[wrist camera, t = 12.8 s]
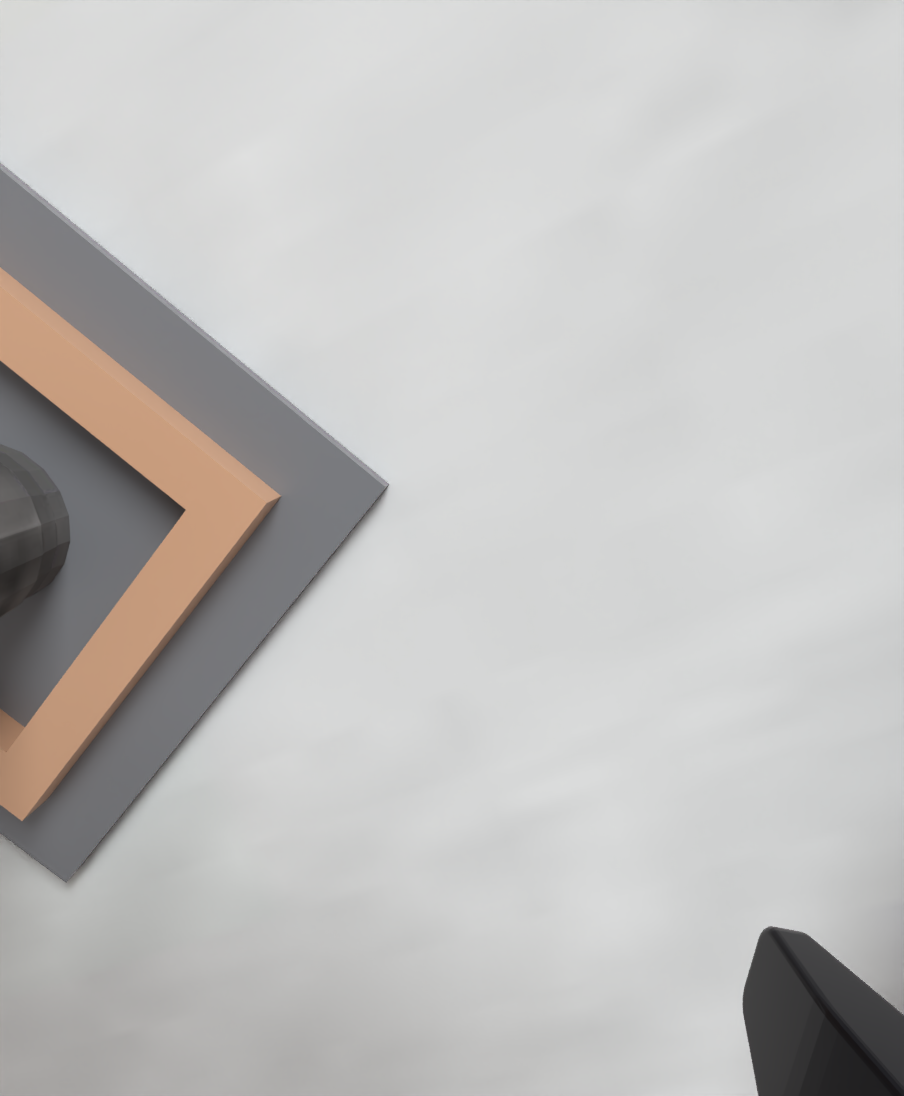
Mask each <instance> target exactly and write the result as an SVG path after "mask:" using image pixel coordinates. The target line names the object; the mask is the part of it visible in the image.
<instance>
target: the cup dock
mask: <svg viewBox="0 0 904 1096" xmlns="http://www.w3.org/2000/svg"><path fill="white" fill-rule="evenodd" d="M0 444H2V445H4V446H7V447H9V448H12V449H14V450H17V451H20V452H22V453H24V454H25V455H26V456H28V457H29V458H30V459H31V460H33V461H34V462H35V463H37V464H38V465H39V466H40V467H42V468H43V469H44V470H45V471H46V473H47V474H48V475H49V477H50V478H51V480H52V481H53V482H54V484H55V485H56V486H57V488H58V489H59V490H60V493H61V496H62V498H63V501H64V504H65V506H66V509H67V512H68V514H69V525H70V544H69V548H68V552H67V555H66V559H65V563H64V565H63V566H62V568H61V569H60V571H59V572H58V574H57V575H56V576H55V578H54V579H53V581H52V582H51V583H50V584H48V585H47V586H46V587H44V588H43V589H41V590H40V591H38V592H37V593H35V594H34V595H32V596H30V597H28V598H26V599H24V600H23V602H22V603H21V604H20V605H18V606H17V607H15V608H14V609H13V610H11V611H10V612H8V613H7V614H5V615H4V616H2V617H1V618H0V833H1V834H2V835H4V836H5V837H6V838H8V839H9V840H10V841H12V842H13V843H14V844H16V845H17V846H18V847H20V848H21V849H22V850H24V851H25V852H26V853H28V854H29V855H30V856H32V857H33V858H34V859H36V860H37V861H38V862H40V863H41V864H42V865H43V866H45V867H46V868H47V869H49V870H50V871H51V872H53V873H54V874H55V875H57V876H58V877H59V878H61V879H62V880H63V881H65V882H67V881H68V880H69V879H70V878H71V876H72V875H73V874H74V873H75V872H76V871H77V870H78V869H79V867H80V866H81V865H82V864H83V862H84V861H85V860H86V859H87V857H88V856H89V855H90V854H91V852H92V851H93V850H94V849H95V848H96V846H97V845H98V844H99V843H100V841H101V840H102V839H103V838H104V836H105V835H106V834H107V833H108V831H109V830H110V829H111V828H112V826H113V825H114V824H115V823H116V822H117V820H118V819H119V818H120V817H121V815H122V814H123V813H124V812H125V810H126V809H127V808H128V807H129V805H130V804H131V803H132V802H133V800H134V799H135V798H136V797H137V796H138V794H139V793H140V792H141V791H142V789H143V788H144V787H145V786H146V784H147V783H148V782H149V781H150V779H151V778H152V777H153V776H154V775H155V773H156V772H157V771H158V770H159V768H160V767H161V766H162V765H163V763H164V762H165V761H166V760H167V758H168V757H169V756H170V755H171V753H172V752H173V751H174V750H175V749H176V747H177V746H178V745H179V744H180V742H181V741H182V740H183V739H184V737H185V736H186V735H187V734H188V732H189V731H190V730H191V729H192V727H193V726H194V725H195V724H196V723H197V721H198V720H199V719H200V718H201V716H202V715H203V714H204V713H205V711H206V710H207V709H208V708H209V706H210V705H211V704H212V703H213V702H214V700H215V699H216V698H217V697H218V695H219V694H220V693H221V692H222V690H223V689H224V688H225V687H226V685H227V684H228V683H229V682H230V680H231V679H232V678H233V677H234V676H235V674H236V673H237V672H238V671H239V669H240V668H241V667H242V666H243V664H244V663H245V662H246V661H247V659H248V658H249V657H250V656H251V654H252V653H253V652H254V651H255V650H256V648H257V647H258V646H259V645H260V643H261V642H262V641H263V640H264V638H265V637H266V636H267V635H268V633H269V632H270V631H271V630H272V628H273V627H274V626H275V625H276V624H277V622H278V621H279V620H280V619H281V617H282V616H283V615H284V614H285V612H286V611H287V610H288V609H289V607H290V606H291V605H292V604H293V603H294V601H295V600H296V599H297V598H298V596H299V595H300V594H301V593H302V591H303V590H304V589H305V588H306V586H307V585H308V584H309V583H310V581H311V580H312V579H313V578H314V577H315V575H316V574H317V573H318V572H319V570H320V569H321V568H322V567H323V565H324V564H325V563H326V562H327V560H328V559H329V558H330V557H331V555H332V554H333V553H334V552H335V551H336V549H337V548H338V547H339V546H340V544H341V543H342V542H343V541H344V539H345V538H346V537H347V536H348V534H349V533H350V532H351V531H352V530H353V528H354V527H355V526H356V525H357V523H358V522H359V521H360V520H361V518H362V517H363V516H364V515H365V513H366V512H367V511H368V510H369V508H370V507H371V506H372V505H373V504H374V502H375V501H376V500H377V499H378V497H379V496H380V495H381V494H382V492H383V491H384V490H385V489H386V487H387V486H388V485H389V484H388V483H387V482H386V481H385V480H384V479H382V478H381V477H380V476H379V475H378V474H376V473H375V472H374V471H373V470H371V469H370V468H369V467H368V466H367V465H365V464H364V463H363V462H362V461H361V460H359V459H358V458H357V457H356V456H355V455H353V454H352V453H351V452H350V451H348V450H347V449H346V448H345V447H344V446H342V445H341V444H340V443H339V442H338V441H336V440H335V439H334V438H333V437H332V436H330V435H329V434H328V433H327V432H325V431H324V430H323V429H322V428H321V427H319V426H318V425H317V424H316V423H315V422H313V421H312V420H311V419H310V418H309V417H307V416H306V415H305V414H304V413H302V412H301V411H300V410H299V409H298V408H296V407H295V406H294V405H293V404H292V403H290V402H289V401H288V400H287V399H286V398H284V397H283V396H282V395H281V394H279V393H278V392H277V391H276V390H275V389H273V388H272V387H271V386H270V385H269V384H267V383H266V382H265V381H264V380H263V379H261V378H260V377H259V376H258V375H257V374H255V373H254V372H253V371H252V370H250V369H249V368H248V367H247V366H246V365H244V364H243V363H242V362H241V361H240V360H238V359H237V358H236V357H235V356H234V355H232V354H231V353H230V352H229V351H227V350H226V349H225V348H224V347H223V346H221V345H220V344H219V343H218V342H217V341H215V340H214V339H213V338H212V337H211V336H209V335H208V334H207V333H206V332H204V331H203V330H202V329H201V328H200V327H198V326H197V325H196V324H195V323H194V322H192V321H191V320H190V319H189V318H188V317H186V316H185V315H184V314H183V313H181V312H180V311H179V310H178V309H177V308H175V307H174V306H173V305H172V304H171V303H169V302H168V301H167V300H166V299H165V298H163V297H162V296H161V295H160V294H159V293H157V292H156V291H155V290H154V289H152V288H151V287H150V286H149V285H148V284H146V283H145V282H144V281H143V280H142V279H140V278H139V277H138V276H137V275H136V274H134V273H133V272H132V271H131V270H129V269H128V268H127V267H126V266H125V265H123V264H122V263H121V262H120V261H119V260H117V259H116V258H115V257H114V256H113V255H111V254H110V253H109V252H108V251H106V250H105V249H104V248H103V247H102V246H100V245H99V244H98V243H97V242H96V241H94V240H93V239H92V238H91V237H90V236H88V235H87V234H86V233H85V232H83V231H82V230H81V229H80V228H79V227H77V226H76V225H75V224H74V223H73V222H71V221H70V220H69V219H68V218H67V217H65V216H64V215H63V214H62V213H61V212H59V211H58V210H57V209H56V208H54V207H53V206H52V205H51V204H50V203H48V202H47V201H46V200H45V199H44V198H42V197H41V196H40V195H39V194H38V193H36V192H35V191H34V190H33V189H31V188H30V187H29V186H28V185H27V184H25V183H24V182H23V181H22V180H21V179H19V178H18V177H17V176H16V175H15V174H13V173H12V172H11V171H10V170H8V169H7V168H6V167H5V166H4V165H2V164H1V163H0Z"/></svg>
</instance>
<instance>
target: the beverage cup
mask: <svg viewBox="0 0 904 1096" xmlns="http://www.w3.org/2000/svg"><path fill="white" fill-rule="evenodd" d="M69 544H70V525H69V514H68V512H67V509H66V506H65V504H64V501H63V498H62V496H61V493H60V490H59V489H58V488H57V486H56V485H55V484H54V482H53V481H52V480H51V478H50V477H49V475H48V474H47V473H46V471H45V470H44V469H43V468H42V467H40V466H39V465H38V464H37V463H35V462H34V461H33V460H31V459H30V458H29V457H28V456H26V455H25V454H24V453H22V452H20V451H17V450H14V449H12V448H9V447H7V446H4V445H2V444H0V618H1V617H2V616H4V615H5V614H7V613H8V612H10V611H11V610H13V609H14V608H15V607H17V606H18V605H20V604H21V603H22V602H23V600H24V599H26V598H28V597H30V596H32V595H34V594H35V593H37V592H38V591H40V590H41V589H43V588H44V587H46V586H47V585H48V584H50V583H51V582H52V581H53V579H54V578H55V576H56V575H57V574H58V572H59V571H60V569H61V568H62V566H63V565H64V563H65V559H66V555H67V552H68V548H69Z"/></svg>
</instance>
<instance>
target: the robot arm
mask: <svg viewBox="0 0 904 1096" xmlns="http://www.w3.org/2000/svg"><path fill="white" fill-rule="evenodd" d="M743 1014H744V1020H745V1026H746V1031H747V1037H748V1042H749V1047H750V1053H751V1058H752V1064H753V1069H754V1074H755V1080H756V1085H757V1091H758V1096H904V1015H903V1014H902V1013H900V1012H899V1011H898V1010H897V1009H896V1008H894V1007H893V1006H892V1005H891V1004H890V1003H888V1002H887V1001H886V1000H885V999H884V998H883V997H881V996H880V995H879V994H878V993H877V992H875V991H874V990H873V989H872V988H871V987H869V986H868V985H867V984H866V983H865V982H863V981H862V980H861V979H860V978H859V977H857V976H856V975H855V974H854V973H853V972H852V971H850V970H849V969H848V968H847V967H846V966H844V965H843V964H842V963H841V962H840V961H838V960H837V959H836V958H835V957H834V956H832V955H831V954H830V953H829V952H828V951H826V950H825V949H824V948H823V947H822V946H821V945H819V944H818V943H817V942H816V941H815V940H813V939H812V938H811V937H810V936H808V935H807V934H805V933H803V932H799V931H794V930H789V929H783V928H778V927H773V926H769V927H768V928H766V929H764V930H763V931H762V933H761V935H760V937H759V940H758V943H757V946H756V950H755V953H754V956H753V960H752V963H751V967H750V970H749V973H748V977H747V980H746V984H745V987H744V992H743Z"/></svg>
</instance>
